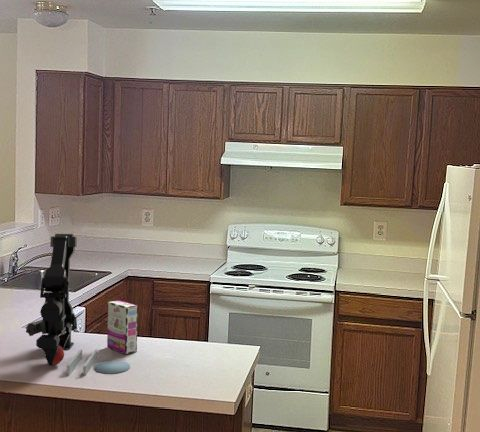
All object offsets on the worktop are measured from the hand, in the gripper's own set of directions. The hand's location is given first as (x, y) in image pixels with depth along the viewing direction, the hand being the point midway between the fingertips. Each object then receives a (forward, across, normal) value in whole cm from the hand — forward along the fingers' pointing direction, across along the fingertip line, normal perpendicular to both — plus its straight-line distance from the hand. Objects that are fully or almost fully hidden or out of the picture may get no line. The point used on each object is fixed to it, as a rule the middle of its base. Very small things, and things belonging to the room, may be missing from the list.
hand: (54, 360), depth 210 cm
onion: (+2, 0, 0) cm, 2 cm away
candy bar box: (+2, -19, +18) cm, 26 cm away
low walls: (+2, 0, +9) cm, 9 cm away
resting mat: (+2, 0, +18) cm, 19 cm away
